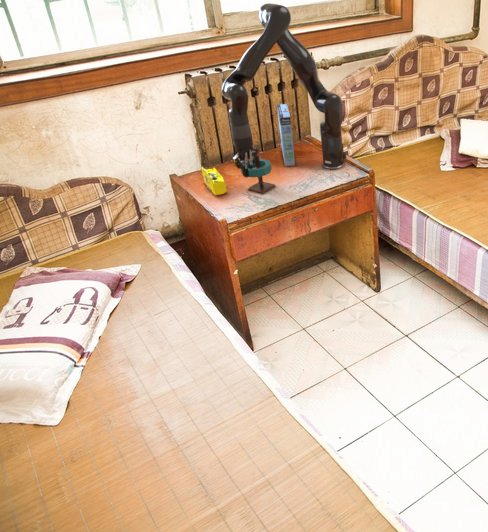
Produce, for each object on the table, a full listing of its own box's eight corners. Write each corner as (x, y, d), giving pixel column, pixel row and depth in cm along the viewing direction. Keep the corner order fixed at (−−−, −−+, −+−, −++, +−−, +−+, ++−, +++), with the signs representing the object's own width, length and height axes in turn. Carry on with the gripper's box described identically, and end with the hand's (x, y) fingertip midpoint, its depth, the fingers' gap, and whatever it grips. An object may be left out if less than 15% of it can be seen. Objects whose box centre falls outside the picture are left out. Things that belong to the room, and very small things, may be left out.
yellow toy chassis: (203, 184, 236) (199, 165, 231) (216, 180, 238) (212, 163, 234) (214, 197, 224) (210, 178, 220) (227, 194, 227) (224, 175, 222)
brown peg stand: (260, 183, 235) (255, 150, 227) (275, 186, 232) (270, 153, 224) (248, 190, 230) (242, 156, 221) (263, 194, 226) (257, 160, 218)
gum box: (282, 151, 266) (276, 104, 253) (292, 150, 267) (287, 103, 254) (285, 166, 250) (278, 117, 237) (296, 165, 251) (290, 116, 238)
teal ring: (254, 163, 232) (253, 157, 230) (277, 168, 227) (276, 161, 225) (235, 173, 223) (234, 167, 221) (258, 179, 218) (257, 172, 217)
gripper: (237, 141, 205) (244, 183, 215) (260, 130, 215) (266, 171, 225) (222, 138, 208) (229, 180, 218) (246, 127, 218) (252, 168, 228)
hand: (248, 175), depth 221 cm, fingers closed on teal ring, 2 cm apart
